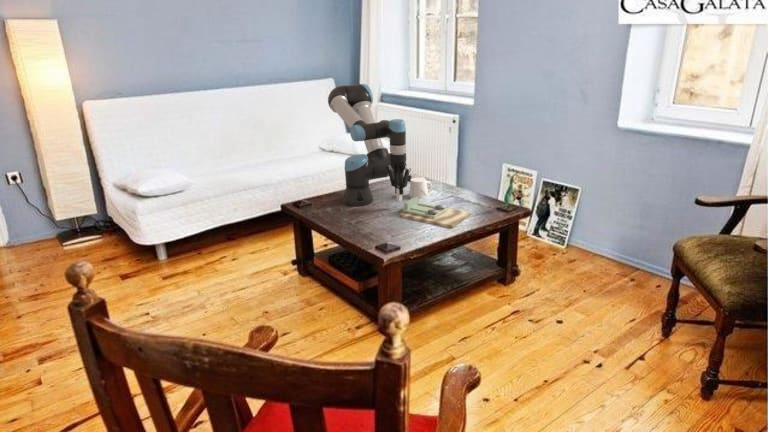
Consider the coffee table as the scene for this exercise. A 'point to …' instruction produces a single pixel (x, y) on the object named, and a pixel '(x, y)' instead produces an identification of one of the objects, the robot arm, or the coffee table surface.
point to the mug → (419, 188)
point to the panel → (421, 208)
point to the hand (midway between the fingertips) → (399, 200)
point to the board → (440, 217)
